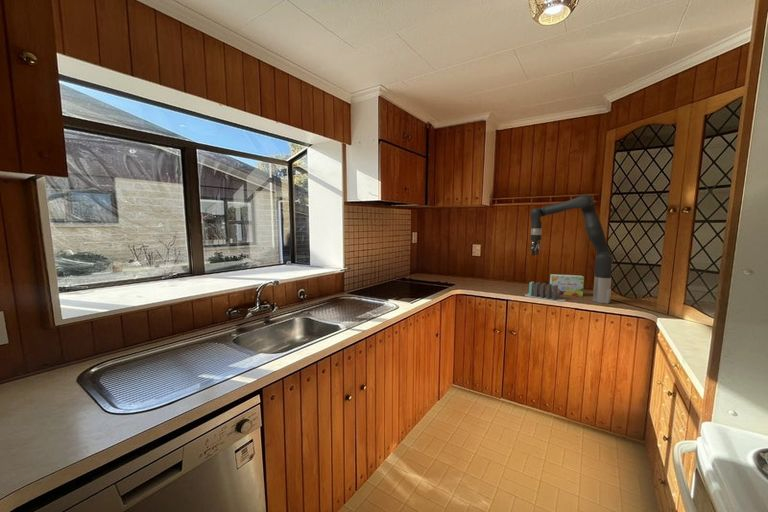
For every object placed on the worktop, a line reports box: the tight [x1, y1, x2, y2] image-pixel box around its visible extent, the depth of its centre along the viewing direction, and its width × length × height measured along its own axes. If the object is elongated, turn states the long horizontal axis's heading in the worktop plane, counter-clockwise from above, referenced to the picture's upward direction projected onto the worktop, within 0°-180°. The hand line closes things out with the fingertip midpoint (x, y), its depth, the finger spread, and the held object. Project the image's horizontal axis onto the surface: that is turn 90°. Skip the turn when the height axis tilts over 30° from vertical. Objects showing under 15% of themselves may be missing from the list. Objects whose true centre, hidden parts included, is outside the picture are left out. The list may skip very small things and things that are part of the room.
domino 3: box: [539, 282, 547, 298], centre depth 219 cm, size 2×5×10 cm, turn 134°
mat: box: [524, 292, 567, 303], centre depth 219 cm, size 26×10×1 cm, turn 44°
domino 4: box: [545, 283, 552, 299], centre depth 216 cm, size 2×5×10 cm, turn 134°
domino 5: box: [552, 285, 558, 300], centre depth 213 cm, size 2×5×10 cm, turn 134°
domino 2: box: [534, 282, 541, 297], centre depth 222 cm, size 2×5×10 cm, turn 134°
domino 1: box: [528, 281, 535, 296], centre depth 225 cm, size 2×5×10 cm, turn 134°
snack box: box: [549, 273, 585, 297], centre depth 227 cm, size 21×6×15 cm, turn 73°
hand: (535, 255), depth 236 cm, fingers open, 8 cm apart
